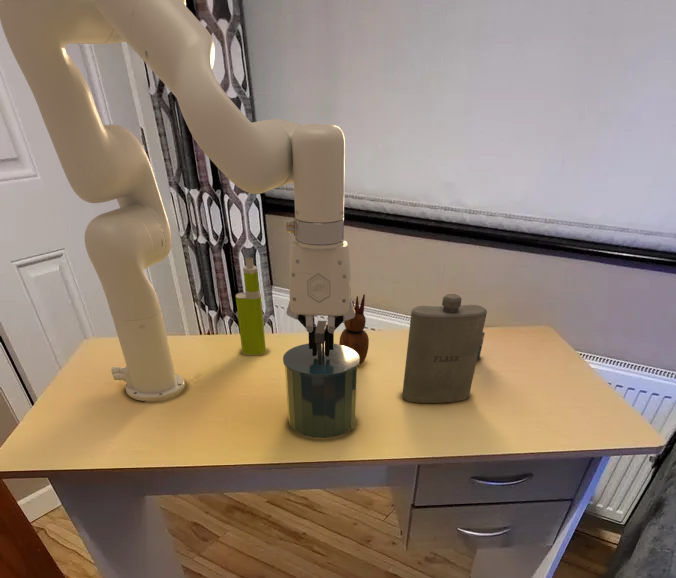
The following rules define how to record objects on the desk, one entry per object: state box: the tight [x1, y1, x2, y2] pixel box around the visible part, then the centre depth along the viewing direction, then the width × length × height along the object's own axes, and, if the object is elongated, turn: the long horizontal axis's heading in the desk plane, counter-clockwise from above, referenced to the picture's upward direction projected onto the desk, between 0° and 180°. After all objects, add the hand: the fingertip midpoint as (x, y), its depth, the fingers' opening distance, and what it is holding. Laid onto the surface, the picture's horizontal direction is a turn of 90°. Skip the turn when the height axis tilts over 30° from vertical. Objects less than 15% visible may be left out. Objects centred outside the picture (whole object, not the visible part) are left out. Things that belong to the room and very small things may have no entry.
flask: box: [401, 293, 488, 404], centre depth 104 cm, size 15×6×20 cm, turn 96°
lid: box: [282, 320, 360, 377], centre depth 92 cm, size 14×14×6 cm
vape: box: [235, 256, 267, 356], centre depth 119 cm, size 4×6×20 cm, turn 88°
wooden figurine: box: [338, 293, 370, 366], centre depth 117 cm, size 7×6×15 cm
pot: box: [284, 366, 358, 439], centre depth 99 cm, size 13×13×12 cm
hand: (321, 352), depth 93 cm, fingers closed on lid
